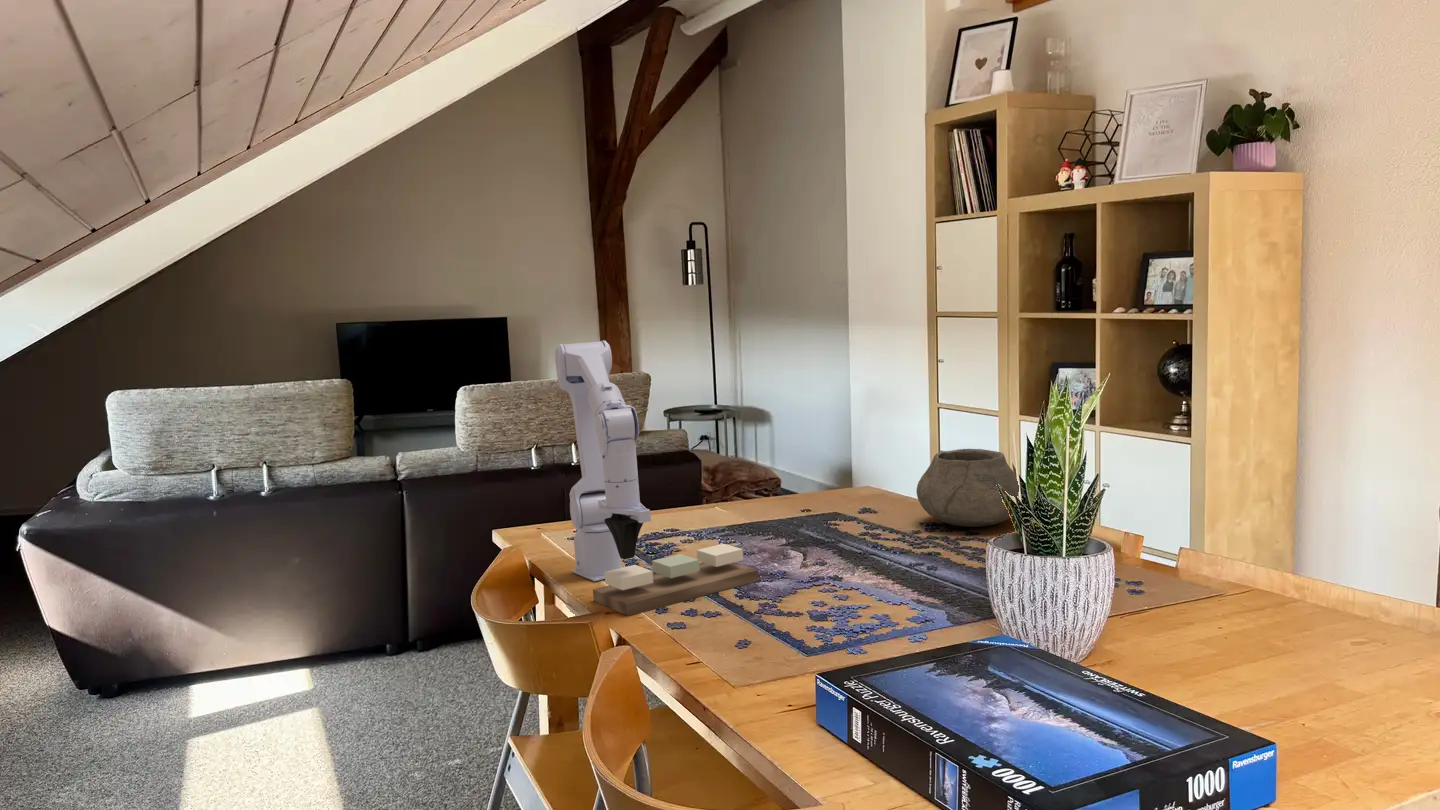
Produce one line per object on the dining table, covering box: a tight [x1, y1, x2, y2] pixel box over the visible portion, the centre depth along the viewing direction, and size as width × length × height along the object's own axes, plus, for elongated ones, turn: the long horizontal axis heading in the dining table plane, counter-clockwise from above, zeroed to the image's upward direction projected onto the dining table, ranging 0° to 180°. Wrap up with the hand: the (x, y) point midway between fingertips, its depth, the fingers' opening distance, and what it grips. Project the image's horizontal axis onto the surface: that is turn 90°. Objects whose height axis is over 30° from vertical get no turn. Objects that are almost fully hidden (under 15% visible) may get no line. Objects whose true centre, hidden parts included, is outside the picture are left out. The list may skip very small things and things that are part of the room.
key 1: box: [604, 564, 654, 590], centre depth 178 cm, size 6×6×2 cm
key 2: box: [696, 543, 744, 567], centre depth 189 cm, size 6×6×2 cm
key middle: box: [651, 553, 700, 578], centre depth 183 cm, size 6×6×2 cm
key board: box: [592, 562, 760, 617], centre depth 184 cm, size 12×27×2 cm, turn 125°
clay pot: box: [916, 448, 1019, 528], centre depth 217 cm, size 22×21×15 cm
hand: (627, 557), depth 178 cm, fingers closed
